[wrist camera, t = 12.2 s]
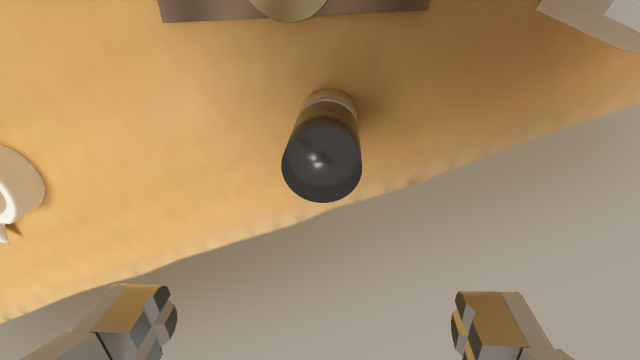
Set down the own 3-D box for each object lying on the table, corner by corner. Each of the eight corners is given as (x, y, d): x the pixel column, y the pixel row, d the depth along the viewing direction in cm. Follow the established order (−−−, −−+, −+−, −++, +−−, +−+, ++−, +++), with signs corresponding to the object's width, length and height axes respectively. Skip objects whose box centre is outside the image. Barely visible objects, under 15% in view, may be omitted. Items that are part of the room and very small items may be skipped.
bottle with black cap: (302, 143, 25) (285, 203, 18) (298, 89, 23) (277, 131, 16) (356, 142, 24) (361, 202, 17) (357, 87, 22) (362, 130, 15)
